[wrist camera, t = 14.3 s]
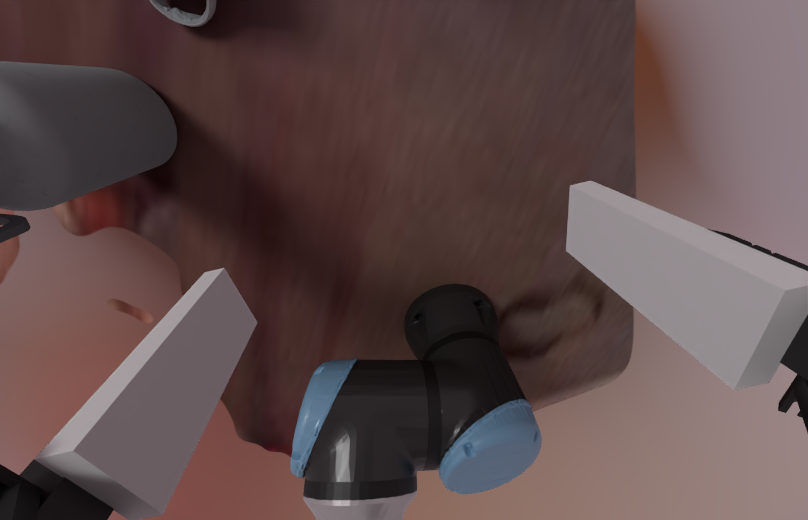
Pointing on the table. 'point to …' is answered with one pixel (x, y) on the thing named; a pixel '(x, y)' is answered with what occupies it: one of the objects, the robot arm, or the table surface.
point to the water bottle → (74, 134)
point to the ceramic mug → (185, 13)
